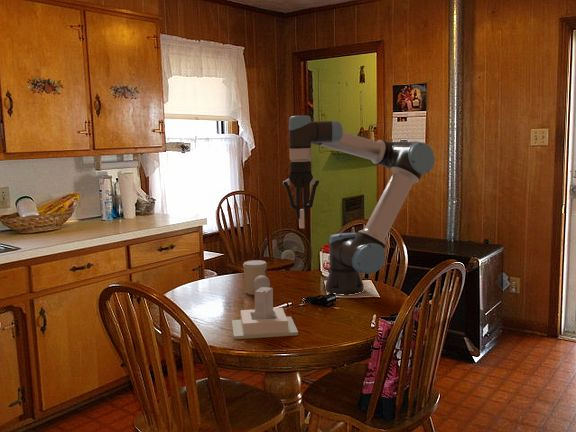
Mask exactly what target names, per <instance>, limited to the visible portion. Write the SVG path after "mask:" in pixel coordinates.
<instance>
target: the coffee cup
mask: <svg viewBox="0 0 576 432" xmlns="http://www.w3.org/2000/svg"><path fill="white" fill-rule="evenodd" d="M267 265H268V264H267V262H266V261H265V260H261V259H259V260H258V259H254V260H253V259H252V260H247V261H244V262H243V264H242V266H243V274H244V275H243V276H244V277H243V278H244V284H245V285H244V286H245V294H248V295H252V296H255V291H256V290H255V288H254V284H253V283H254V280H255V278H256V277H258V276H261V275H263V276H266V277H267Z"/></svg>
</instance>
